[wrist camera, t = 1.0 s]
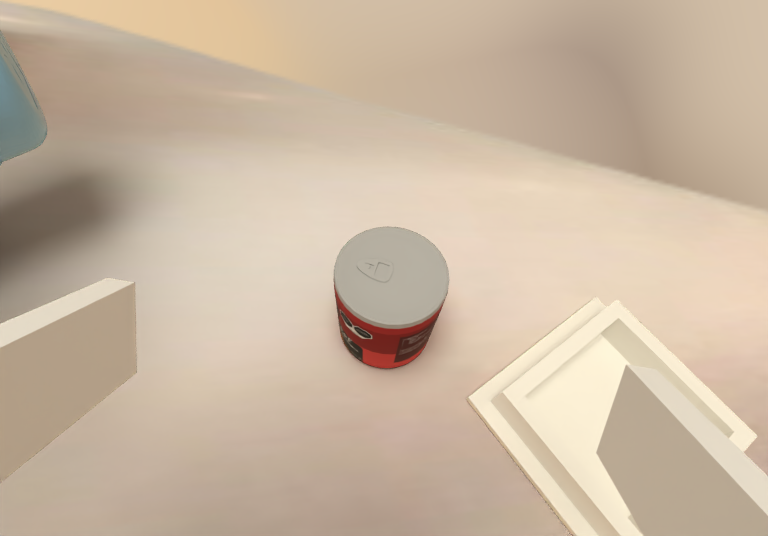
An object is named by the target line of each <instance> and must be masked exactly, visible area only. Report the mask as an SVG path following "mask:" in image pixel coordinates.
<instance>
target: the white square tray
mask: <svg viewBox="0 0 768 536" xmlns="http://www.w3.org/2000/svg"><path fill="white" fill-rule="evenodd" d="M626 364H628V365H634V366H640V367H646V368H652V369H656V370H657V371H658V372H660V373H661V374H662V375H663V376H664V377H665V378H666V379H667V380H668V381H669V382H670V383H671V384H672V385H673V386H674V387H675V388H676V389H677V390H678V391H679V392H680V393H682V394H683V395H684V396H685V397H686V398H687V399H688V400H689V401H690V402H691V403H692V404H693V405H694V406H695V407H696V408H697V409H698V410H699V411H700V412H701V413H702V414H704V415H705V416H706V417H707V418H708V419H709V420H710V421H711V422H712V423H713V424H714V425H715V426H716V427H717V428H718V429H719V430H720V431H721V432H722V433H723V434H724V435H726V436H727V437H728V438H729V439H730V440H731V441H732V442H733V443H734V444H735V445H736V446H737V447H738V448H739V449H740V450H741V451H742V452H744V451H745V450H746V449H747V448H748V446H749V445H750V444H751V443H752V442H753V441H754V440H755V438H756V437H757V435H756V434H755V433H754V432H753V431H752V430H751V429H750V428H749V427H748V426H747V425H746V424H745V423H744V422H743V421H742V420H741V419H740V418H739V417H738V416H736V415H735V414H734V413H733V412H732V411H731V410H730V409H729V408H728V407H727V406H726V405H725V404H724V403H723V402H722V401H721V400H720V399H719V398H718V397H717V396H716V395H715V394H714V393H713V392H712V391H711V390H710V389H709V388H708V387H707V386H706V385H704V384H703V383H702V382H701V381H700V380H699V379H698V378H697V377H696V376H695V375H694V374H693V373H692V372H691V371H690V370H689V369H688V368H687V367H686V366H685V365H684V364H683V363H682V362H681V361H680V360H679V359H678V358H677V357H676V356H675V355H673V354H672V353H671V352H670V351H669V350H668V349H667V348H666V347H665V346H664V345H663V344H662V343H661V342H660V341H659V340H658V339H657V338H656V337H655V336H654V335H653V334H652V333H651V332H650V331H649V330H648V329H647V328H646V327H645V326H644V325H643V324H641V323H640V322H639V321H638V320H637V319H636V318H635V317H634V316H633V315H632V314H631V313H630V312H629V311H628V310H627V309H626V308H625V307H624V306H623V305H622V304H621V303H620V302H619V301H618V300H615V301H614V302H613V303H611V304H610V305H609V306H608V307H606V306H605V305H604V304H603V303H602V302H601V301H600V300H599V299H598V298H597V297H595V298H594V299H592V300H591V301H590V302H589V303H587V304H586V305H585V306H584V307H582V308H581V309H580V310H578V311H577V312H576V313H575V314H573V315H572V316H571V317H570V318H568V319H567V320H566V321H564V322H563V323H562V324H561V325H559V326H558V327H557V328H556V329H554V330H553V331H552V332H550V333H549V334H548V335H547V336H545V337H544V338H543V339H542V340H540V341H539V342H538V343H537V344H535V345H534V346H533V347H531V348H530V349H529V350H528V351H526V352H525V353H524V354H523V355H521V356H520V357H519V358H517V359H516V360H515V361H514V362H512V363H511V364H510V365H509V366H507V367H506V368H505V369H504V370H502V371H501V372H500V373H498V374H497V375H496V376H495V377H493V378H492V379H491V380H490V381H488V382H487V383H486V384H484V385H483V386H482V387H481V388H479V389H478V390H477V391H476V392H474V393H473V394H472V395H470V396H469V397H468V398H467V399H466V400H467V401H468V402H469V404H470V405H471V406H472V407H473V409H474V410H475V411H476V413H477V414H478V415H479V416H480V418H481V419H482V420H483V422H484V423H485V424H486V425H487V427H488V428H489V429H490V430H491V432H492V433H493V434H494V436H495V437H496V438H497V439H498V441H499V442H500V443H501V445H502V446H503V447H504V448H505V450H506V451H507V452H508V453H509V455H510V456H511V457H512V459H513V460H514V461H515V462H516V464H517V465H518V466H519V468H520V469H521V470H522V471H523V473H524V474H525V475H526V477H527V478H528V479H529V480H530V482H531V483H532V484H533V485H534V487H535V488H536V489H537V491H538V492H539V493H540V494H541V496H542V497H543V498H544V500H545V501H546V502H547V503H548V505H549V506H550V507H551V508H552V510H553V511H554V512H555V514H556V515H557V516H558V517H559V519H560V520H561V521H562V523H563V524H564V525H565V526H566V528H567V529H568V530H569V532H570V533H571V534H572V535H573V536H643V534H642V532H641V531H640V529H639V527H638V525H637V524H636V522H635V520H634V518H633V517H632V515H631V513H630V511H629V509H628V508H627V506H626V504H625V502H624V501H623V499H622V497H621V495H620V494H619V492H618V490H617V488H616V487H615V485H614V483H613V481H612V480H611V478H610V476H609V474H608V473H607V471H606V469H605V467H604V466H603V464H602V462H601V460H600V459H599V457H598V455H597V453H596V451H597V449H598V446H599V443H600V440H601V437H602V434H603V431H604V428H605V425H606V422H607V419H608V416H609V413H610V410H611V407H612V404H613V401H614V398H615V396H616V393H617V390H618V387H619V384H620V381H621V378H622V375H623V372H624V369H625V366H626Z"/></svg>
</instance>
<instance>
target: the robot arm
mask: <svg viewBox="0 0 768 536" xmlns="http://www.w3.org/2000/svg"><path fill="white" fill-rule="evenodd" d="M46 135H47V123H46V120H45V117H44V114H43V112H42V109H41V107H40V105H39V103H38V101H37V98H36V96H35V94H34V92H33V90H32V88H31V86H30V84H29V82H28V80H27V78H26V76H25V74H24V72H23V70H22V69H21V67H20V65H19V63H18V61H17V59H16V57H15V55H14V53H13V52H12V50H11V48H10V46H9V44H8V43H7V41H6V39H5V37H4V35H3V34H2V32H1V30H0V166H1V164H2V162H4V161H6V160H9V159H11V158H14V157H16V156H19V155H21V154H23V153H26V152H28V151H31V150H33V149H35V148H37V147H38V146H40V145H41V144H42V143H43V141H44V140H45V138H46ZM136 373H137V363H136V312H135V282H130V281H124V280H118V279H112V278H106V279H103V280H101V281H99V282H96V283H94V284H92V285H89V286H87V287H85V288H82V289H80V290H78V291H75V292H73V293H71V294H68V295H66V296H64V297H61V298H59V299H57V300H54V301H52V302H50V303H47V304H45V305H43V306H40V307H38V308H36V309H33V310H31V311H29V312H26V313H24V314H22V315H19V316H17V317H15V318H12V319H10V320H8V321H5V322H3V323H1V324H0V483H1V482H2V481H3V480H4V479H6V478H7V477H8V476H9V475H11V474H12V473H13V472H14V471H16V470H17V469H18V468H19V467H20V466H22V465H23V464H24V463H25V462H27V461H28V460H29V459H30V458H32V457H33V456H34V455H35V454H37V453H38V452H39V451H40V450H42V449H43V448H44V447H45V446H46V445H48V444H49V443H50V442H51V441H53V440H54V439H55V438H56V437H58V436H59V435H60V434H61V433H63V432H64V431H65V430H66V429H67V428H69V427H70V426H71V425H72V424H74V423H75V422H76V421H77V420H79V419H80V418H81V417H82V416H84V415H85V414H86V413H87V412H89V411H90V410H91V409H92V408H93V407H95V406H96V405H97V404H98V403H100V402H101V401H102V400H103V399H105V398H106V397H107V396H108V395H110V394H111V393H112V392H113V391H114V390H116V389H117V388H118V387H119V386H121V385H122V384H123V383H124V382H126V381H127V380H128V379H129V378H131V377H132V376H133V375H134V374H136ZM596 453H597V455H598V457H599V459H600V460H601V462H602V464H603V466H604V467H605V469H606V471H607V473H608V474H609V476H610V478H611V480H612V481H613V483H614V485H615V487H616V488H617V490H618V492H619V494H620V495H621V497H622V499H623V501H624V502H625V504H626V506H627V508H628V509H629V511H630V513H631V515H632V517H633V518H634V520H635V522H636V524H637V525H638V527H639V529H640V531H641V532H642V534H643V536H768V476H767V475H766V474H765V473H764V472H763V471H762V470H761V469H760V468H759V467H758V466H757V465H756V464H755V463H754V462H753V461H752V460H751V459H750V458H749V457H748V456H746V455H745V454H744V453H743V452H742V451H741V450H740V449H739V448H738V447H737V446H736V445H735V444H734V443H733V442H732V441H731V440H730V439H729V438H728V437H727V436H726V435H724V434H723V433H722V432H721V431H720V430H719V429H718V428H717V427H716V426H715V425H714V424H713V423H712V422H711V421H710V420H709V419H708V418H707V417H706V416H705V415H704V414H702V413H701V412H700V411H699V410H698V409H697V408H696V407H695V406H694V405H693V404H692V403H691V402H690V401H689V400H688V399H687V398H686V397H685V396H684V395H683V394H682V393H680V392H679V391H678V390H677V389H676V388H675V387H674V386H673V385H672V384H671V383H670V382H669V381H668V380H667V379H666V378H665V377H664V376H663V375H662V374H661V373H660V372H658V371H657V370H656V369H652V368H646V367H640V366H634V365H628V364H626V366H625V369H624V372H623V375H622V378H621V381H620V384H619V387H618V390H617V393H616V396H615V398H614V401H613V404H612V407H611V410H610V413H609V416H608V419H607V422H606V425H605V428H604V431H603V434H602V437H601V440H600V443H599V446H598V449H597V451H596Z"/></svg>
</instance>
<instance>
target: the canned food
mask: <svg viewBox="0 0 768 536" xmlns="http://www.w3.org/2000/svg"><path fill="white" fill-rule="evenodd" d="M448 285H449V272H448V267H447V264H446V261H445V259H444V258H443V256H442V254H441V252H440V251H439V250H438V249H437V248H436V246H435V245H434V244H433V243H431V242H430V241H429V240H428V239H426V238H425V237H423V236H421V235H420V234H418V233H416V232H413V231H410V230H408V229H404V228H399V227H378V228H373V229H370V230H366V231H364V232H362V233H360V234H358V235H356V236H355V237H353V238H352V239H351V240H349V241H348V242H347V243H346V244H345V246H344V247H343V248H342V249H341V251H340V253H339V255H338V257H337V260H336V263H335V269H334V289H335V297H336V304H337V312H338V319H339V327H340V333H341V337H342V340H343V342H344V344H345V346H346V347H347V349H348V350H349V351H350V352H351V353H352V354H353V355H354V356H355V357H356V358H357V359H359V360H360V361H362V362H363V363H366V364H368V365H371V366H374V367H379V368H394V367H399V366H402V365H405V364H407V363H409V362H410V361H412V360H414V359H415V358H416V357H417V356H418V355H419V354H420V353H421V352H422V350H423V349H424V347H425V346H426V343H427V341H428V339H429V336H430V334H431V332H432V329H433V327H434V325H435V322H436V320H437V318H438V316H439V313H440V311H441V309H442V306H443V303H444V301H445V298H446V295H447V292H448Z"/></svg>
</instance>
